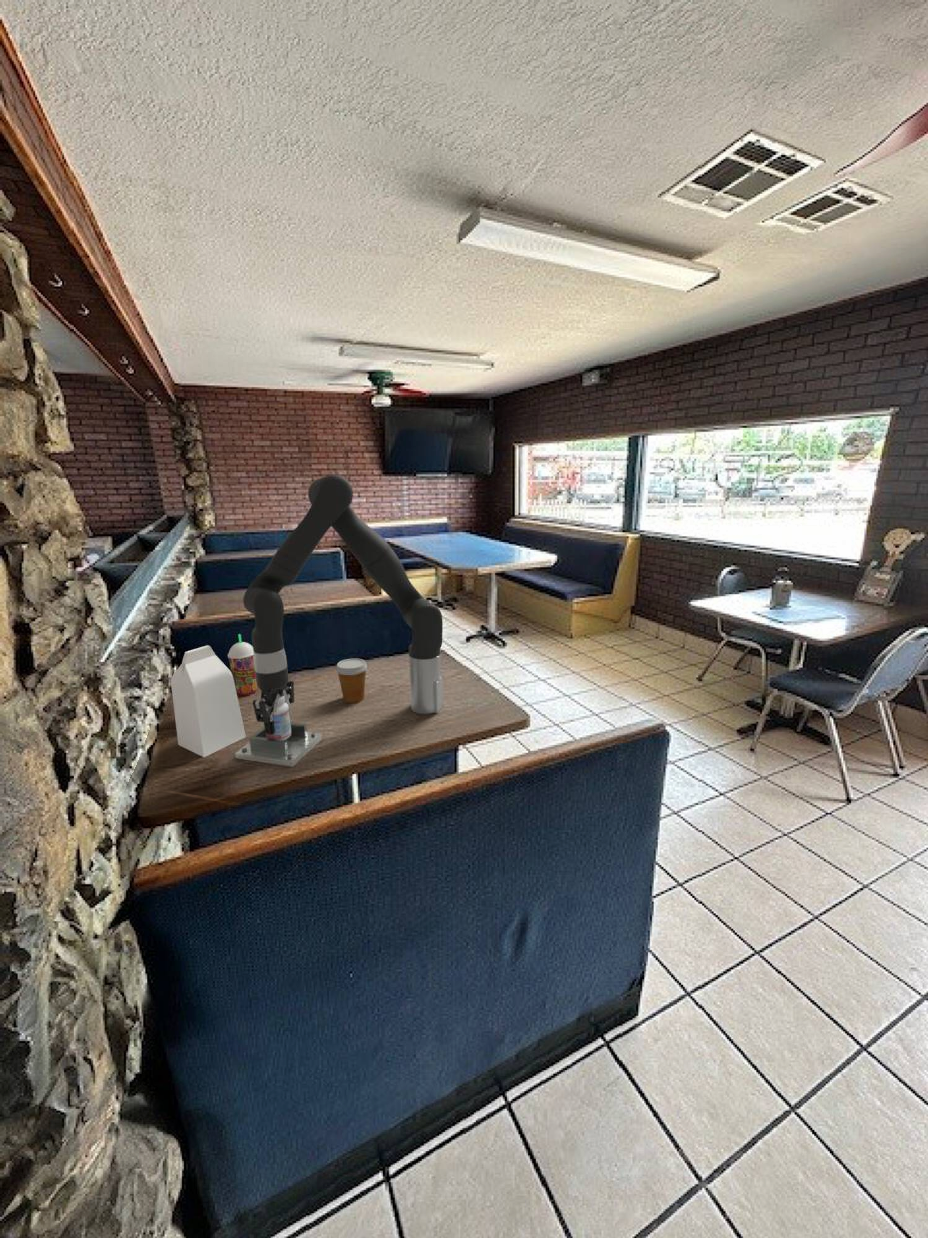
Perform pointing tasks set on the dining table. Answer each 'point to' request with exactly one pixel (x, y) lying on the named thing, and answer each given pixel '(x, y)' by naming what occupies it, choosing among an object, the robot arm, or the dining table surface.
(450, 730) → the dining table surface
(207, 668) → the milk
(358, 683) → the disposable coffee cup
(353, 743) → the dining table surface
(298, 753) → the mounting bracket
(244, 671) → the smoothie
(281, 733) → the pill bottle
